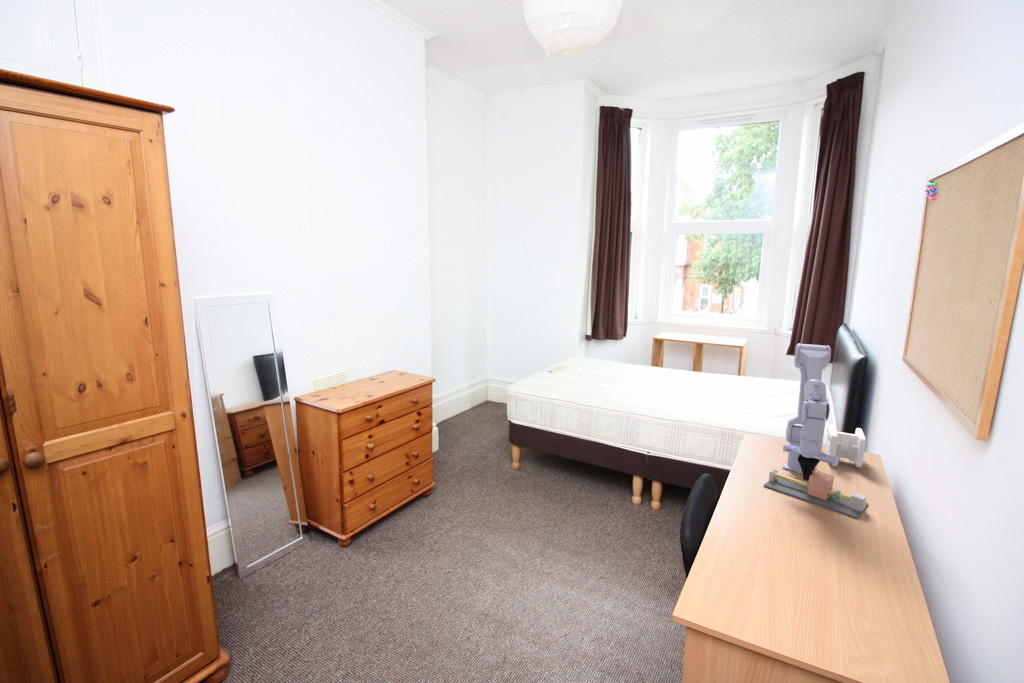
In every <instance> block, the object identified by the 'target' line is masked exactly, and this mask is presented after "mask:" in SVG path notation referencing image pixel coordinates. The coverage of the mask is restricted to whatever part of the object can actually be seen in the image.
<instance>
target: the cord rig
mask: <svg viewBox="0 0 1024 683" xmlns="http://www.w3.org/2000/svg"><path fill="white" fill-rule="evenodd" d="M768 476H769V477H768V481H767V482H766V483H764V484H763V488H767V489H770V490H772V489H773V490H772V491H776V492H779V493H782V494H784V495H788V496H789V497H793V498H796V499H797V500H798V499H799V500H800V501H801V500H802V501H803V502H806V503H810V504H812V505H815V506H819V507H822V508H824V509H827V510H831V511H833V512H836V513H838V514H841V515H844V516H848V517H850V518H852V519H855V520H858V519H859V517H860V516H861V515H862V514H863V512H864V511H865V510H866V508H867V507H868V506H869V503H868V501H867V496H866V495H865V494H861V493H858V492H856V491H854V492H853V493H852V494H851V495H850V496H848V495H845V494H842V493H841V490H836V491H834V490H832V491H830V490H829V493H828V494H830V497H829V498H828V499H827V500H823V499H820V498H817V497H814V496H811V495H808V494H807V491H808V484H809V482H805V481H804V480H799V479H796V478H793V477H790V476H788V475H783V474H780V473H778V469H776V468H772V470H770V471H769V475H768ZM866 501H867V502H866Z"/></svg>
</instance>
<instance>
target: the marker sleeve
mask: <svg viewBox="0 0 1024 683" xmlns="http://www.w3.org/2000/svg"><path fill="white" fill-rule="evenodd" d="M834 479H835V475H832V474H828V473H826V472H822V471H819V470H816V469H815V470H814V471H813V472H812V474H811V475H810V476H809V480H808V483H809V484H808V491H807V494H808V495H811V496H814V497H817V498H820V499H823V500H827V499H828V498H829V497H830V494H828V493H829V490H830V491H833V487H834V486H833V485H834Z"/></svg>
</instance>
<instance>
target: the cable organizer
mask: <svg viewBox="0 0 1024 683" xmlns="http://www.w3.org/2000/svg"><path fill="white" fill-rule="evenodd" d="M826 432H827V435H826V441H825V447H824V448H825V454H827V455H830V456H832V457H835V458H838V462H839V461H840V460H841V458H843V459H848V460H849V462H854V465H855V468H862V467H863V464H864V457H865V450H866V443H867V440H866V436H865V433H864V431H863V429H862V428H861V427H856V428H855V431H854V433H848V432H842V431H837V426H836V425H835V424H828V425H827V428H826Z"/></svg>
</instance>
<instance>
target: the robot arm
mask: <svg viewBox="0 0 1024 683" xmlns="http://www.w3.org/2000/svg"><path fill="white" fill-rule="evenodd" d="M794 349H795V350H794V361H793V364H794V367H795V368H797V369H799V371H800V385H799V395H798V404H797V406H798V407H797V415H796V416H793V417H791V418H790V419H788V421H787V425H786V429H785V440H786V441H787V443H785V444H784V445H783V447H782V451H783V452H785V453H786V452H787V453H788V455H787V462H786V463H785V464H784V465H783V466H782V469H785V470H787V471H791V472H795V473H797V474H798V473H799V474H800V475H802V481H808V482H809V476H810V475H811V474H812V473H813V472H814V471H815V470H816V469H817V467H818V464H819V463H820V462H822V463H823V462H824V463H826V464H830V465H832V466H834V467H837V466H838V464H839V459H838V458H835V457H832V456H830V455H827V454H826V452H825V453H824V452H822V449H823V443H824V435H825V428H826V422H827V421H828V420H829V418H830V414H831V413H830V411H831V409H830V408H831V407H830V402H829V399H828V398H827V385H826V384H825V383H824V382H823V381H822V376H823V375H822V374H823V370H826V368H827V367H828V365H829V363H830V361H831V356H832V348H831V347H830V345H828V344H827V345H821V344H811V343H810V344H806V343H800V342H799V343H797V344H796V346H795V348H794Z"/></svg>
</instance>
